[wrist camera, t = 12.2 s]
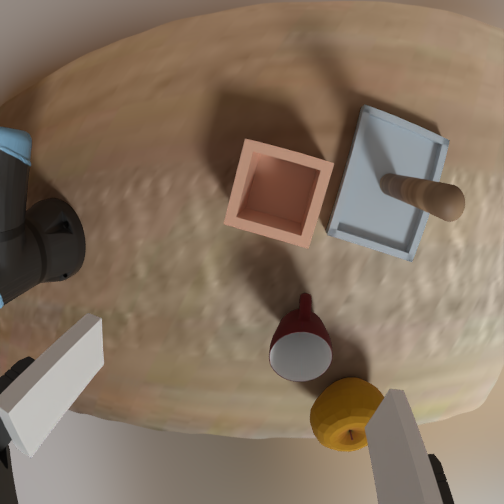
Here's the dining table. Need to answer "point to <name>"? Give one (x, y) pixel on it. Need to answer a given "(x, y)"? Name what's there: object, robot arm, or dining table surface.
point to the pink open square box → (278, 193)
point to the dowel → (425, 195)
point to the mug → (301, 344)
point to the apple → (344, 413)
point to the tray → (368, 183)
